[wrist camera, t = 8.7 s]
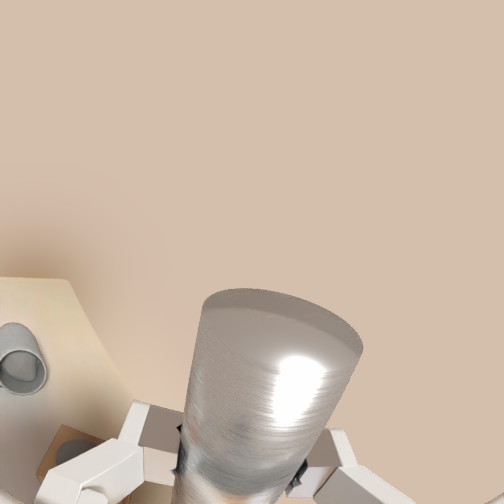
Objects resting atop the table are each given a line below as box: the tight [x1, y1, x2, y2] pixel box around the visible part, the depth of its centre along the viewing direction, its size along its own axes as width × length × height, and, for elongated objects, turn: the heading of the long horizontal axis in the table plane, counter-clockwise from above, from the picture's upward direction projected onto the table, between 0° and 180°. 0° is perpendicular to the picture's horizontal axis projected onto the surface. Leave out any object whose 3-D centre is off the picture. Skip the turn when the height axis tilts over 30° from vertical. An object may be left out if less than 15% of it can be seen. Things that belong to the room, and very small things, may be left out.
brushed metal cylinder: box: [171, 288, 363, 504], centre depth 7 cm, size 3×3×10 cm
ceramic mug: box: [0, 323, 47, 395], centre depth 27 cm, size 11×8×8 cm
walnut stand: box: [36, 424, 131, 504], centre depth 18 cm, size 8×8×6 cm
